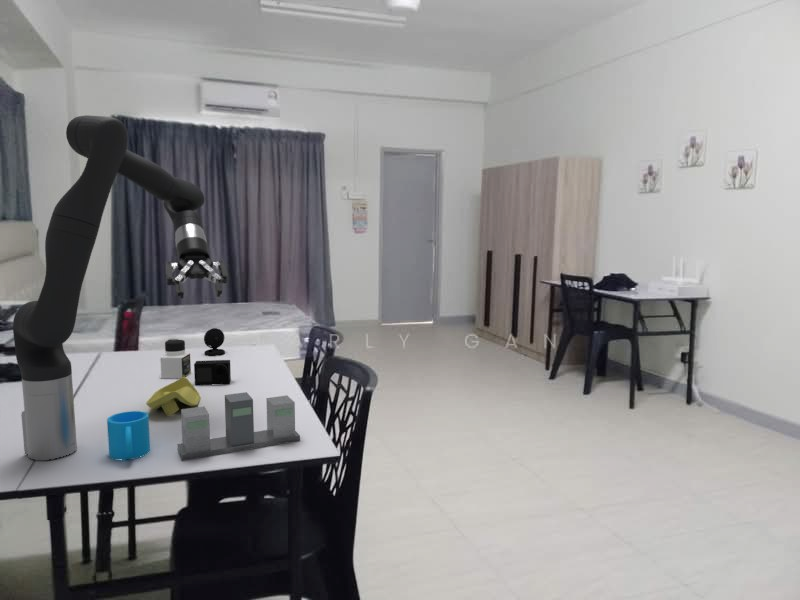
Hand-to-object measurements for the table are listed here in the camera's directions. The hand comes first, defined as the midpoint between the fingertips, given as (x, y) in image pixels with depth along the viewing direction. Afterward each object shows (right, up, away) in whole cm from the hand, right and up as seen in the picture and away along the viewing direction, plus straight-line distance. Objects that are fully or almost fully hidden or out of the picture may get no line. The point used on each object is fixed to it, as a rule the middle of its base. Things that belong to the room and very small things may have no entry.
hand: (200, 295), depth 140 cm
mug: (-10, -35, -14) cm, 39 cm away
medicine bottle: (-25, -26, +51) cm, 62 cm away
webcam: (-23, -22, +82) cm, 88 cm away
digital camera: (-11, -28, +42) cm, 51 cm away
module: (+12, -33, -8) cm, 36 cm away
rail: (+12, -34, -8) cm, 37 cm away
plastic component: (-14, -31, +18) cm, 38 cm away
